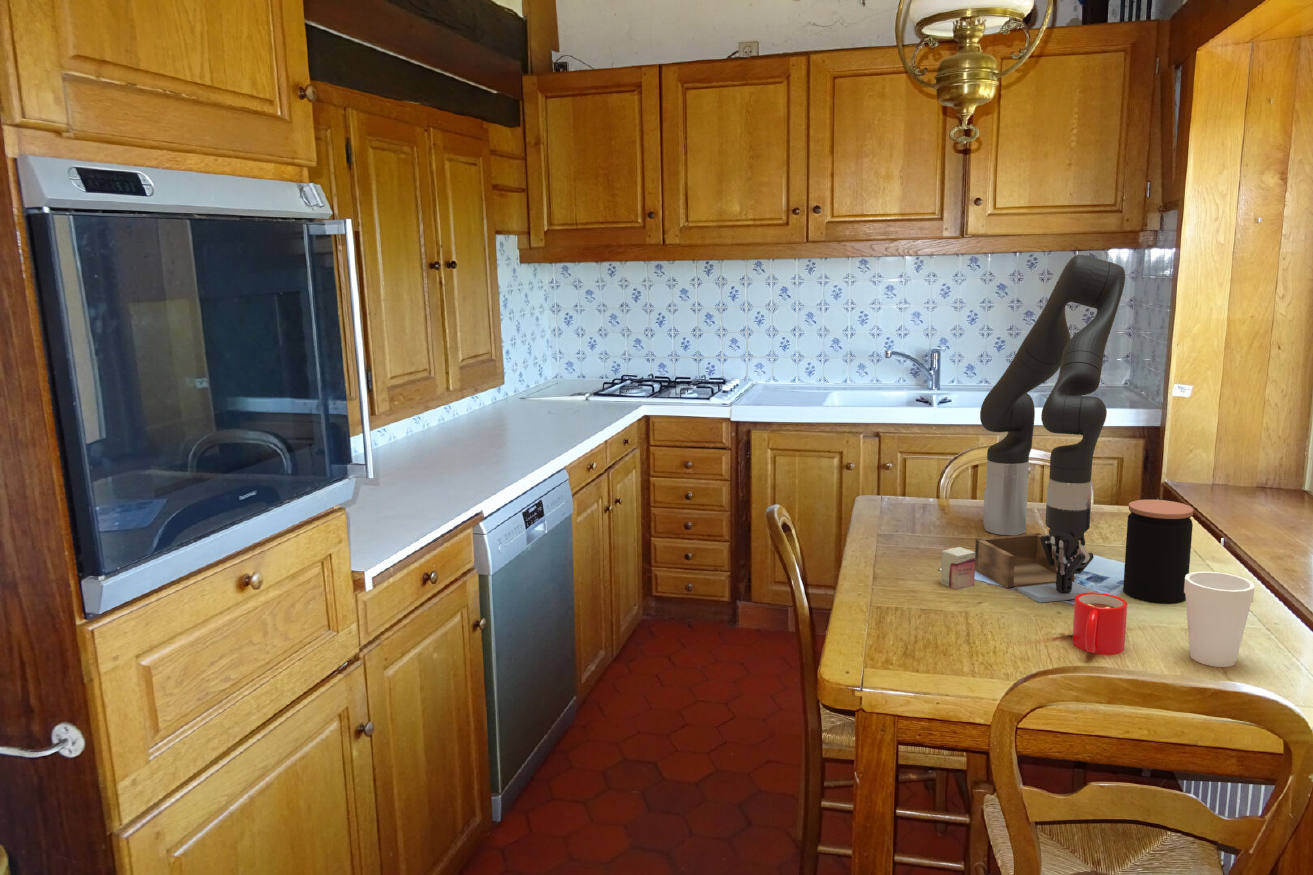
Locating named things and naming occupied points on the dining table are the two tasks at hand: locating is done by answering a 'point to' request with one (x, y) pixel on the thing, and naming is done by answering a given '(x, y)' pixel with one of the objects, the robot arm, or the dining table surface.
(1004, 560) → the open wooden box
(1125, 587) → the coffee jar
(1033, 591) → the panel
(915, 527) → the dining table surface
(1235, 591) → the foam cup
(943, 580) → the small box
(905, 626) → the dining table surface
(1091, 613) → the mug
